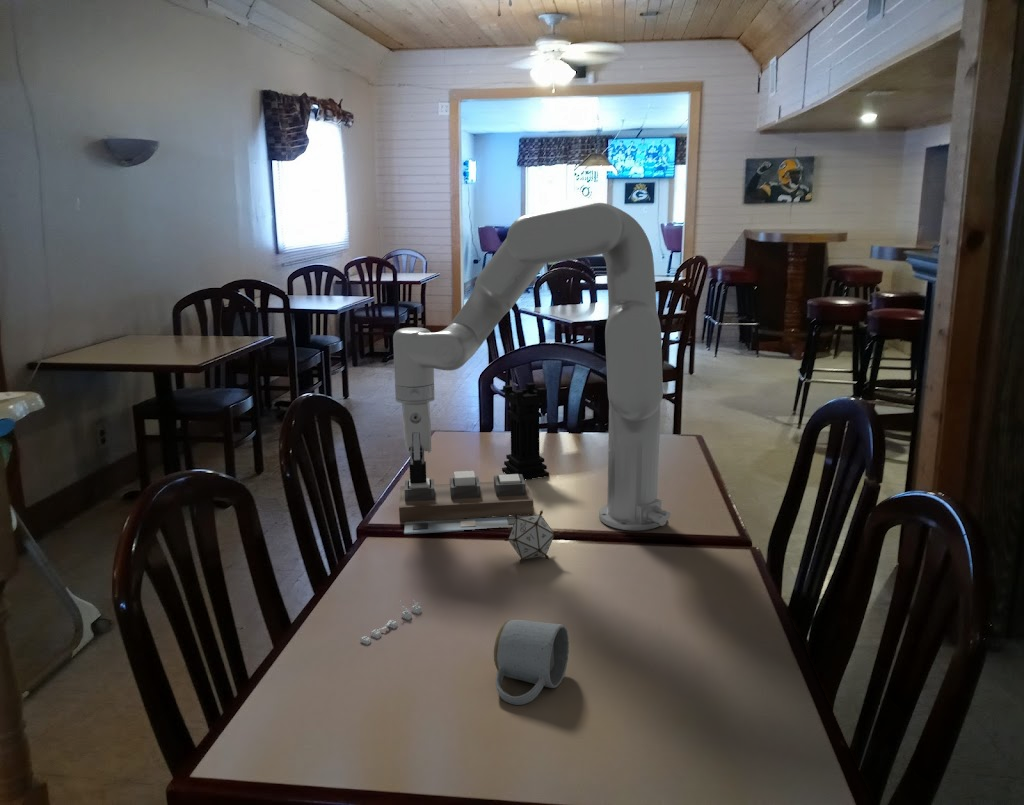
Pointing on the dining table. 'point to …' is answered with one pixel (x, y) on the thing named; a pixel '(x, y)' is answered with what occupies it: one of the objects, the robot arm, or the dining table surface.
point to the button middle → (464, 478)
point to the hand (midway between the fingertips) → (418, 481)
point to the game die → (531, 536)
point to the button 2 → (509, 479)
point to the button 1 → (420, 484)
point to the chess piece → (525, 432)
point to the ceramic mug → (530, 656)
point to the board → (463, 506)
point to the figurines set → (393, 622)
